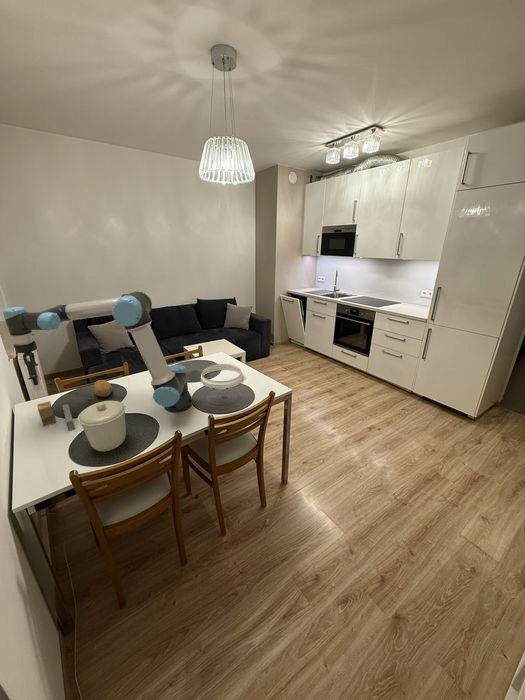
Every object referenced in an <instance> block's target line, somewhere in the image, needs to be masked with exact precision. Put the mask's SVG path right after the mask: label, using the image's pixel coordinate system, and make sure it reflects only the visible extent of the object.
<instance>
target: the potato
mask: <svg viewBox="0 0 525 700" xmlns="http://www.w3.org/2000/svg"><path fill="white" fill-rule="evenodd" d="M112 392H113V385H112V383H110V381H108V380H106V379H99V380H96V381H95V382H94V385H93V393H94V394H95V395H96V396H98V397H108V396H110V395H111V394H112Z"/></svg>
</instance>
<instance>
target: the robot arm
mask: <svg viewBox="0 0 525 700" xmlns="http://www.w3.org/2000/svg"><path fill="white" fill-rule="evenodd" d="M152 307H153V302H152V299H151V298H150V296H149V295H147V293H145V292H143V291H133V292H129V293H123V294H121V295H120V296H119V297H112V298H106V299H105V298H104V299H98V300H97V299H96V300H90V301H82V302H75V303H69V304H67V303H64V304H63V303H62V304H61V303H60V304H58V305H56V306H52V307H50V308H48V309H44V310H42V311H38V312H37V311H36V312H29V311H27V310H26V308H25V307H23V306H13V307H12V306H11V307H7V308H4V309H3V311H2V313H3V317H4V322H5V324H6V326H7V329H8V332H9V336H10V339H11V342H12V344H13V349H14V351H15V352H16V353H17V354H22V359H23V361H24V364H25V366H26V368H27V372H28V377H27V379H28V381H29V380H30V381H31V385H32V388H33V391H34V392H40V391H43V388H42V384H41V382H40V381H41V373H40V372H39V368H38V366H39V362H37V361H36V358H35V357H36V356H35V353H34V352H35V351H36V350H37V349H38V346H37V342H36V341H35V336H36V334H35V333H33V331H52V330H53V331H54V330H57V329H59V327H60V325H61V323H63V322H69V321H76V320H77V321H78V320H83V319H84V320H85V319H90V318H97V317H105V316H111V315H112V317H113V319H114V320H115V321H116V323H118V324H120V325H121V326H123V328H124V331H125V332H126V331H127V332H128V333H130V334H131V336H132V338H133V341H134V343H135V344H136V347H137V348H138V351H139V353H140V355H141V358H142V360H143V362H144V364H145V365H146V368H147V371H148V372H149V374H150V377H151V382H150V385H151V387H152V389H153V395H152V399H153V401H154V402H155V403H156V404H157V405H158V406H162V407H164V410H165V411H167V412H168V413H170V412H171V413H181V412H183V411H187V410H188V409H190V408H191V407H192V406H193V402H194V401H193V397H192V395H191V394H190V391H189V386H188V385H189V384H188V373H187V368H186V366H184V365H181V364H171V365H168V362H167V361H166V359H165V356H164V354H163V352H162V349H161V347H160V345H159V342H158V341H157V340H158V339H157V337H156V336H155V333H154V331H153V329H152V326H151V324H152V321H153V319H152V317H151V315H150V313H151V311H152Z"/></svg>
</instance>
